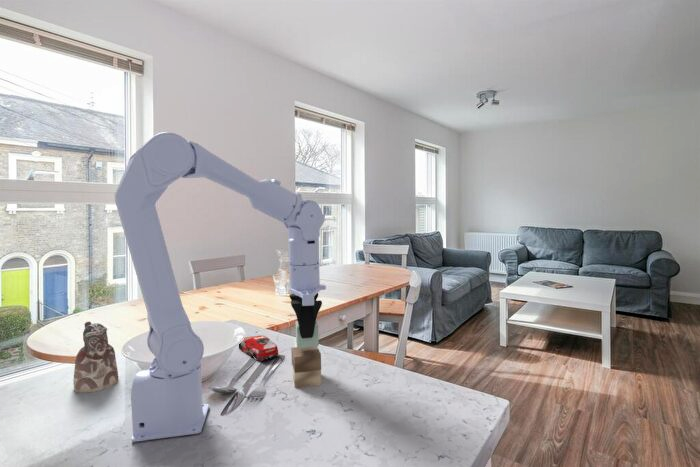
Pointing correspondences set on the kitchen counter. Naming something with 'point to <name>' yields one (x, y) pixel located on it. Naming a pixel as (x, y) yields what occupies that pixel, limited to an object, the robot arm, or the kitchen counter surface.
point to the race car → (259, 347)
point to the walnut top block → (306, 359)
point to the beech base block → (307, 378)
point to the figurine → (95, 361)
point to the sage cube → (307, 341)
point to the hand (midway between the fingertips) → (305, 333)
